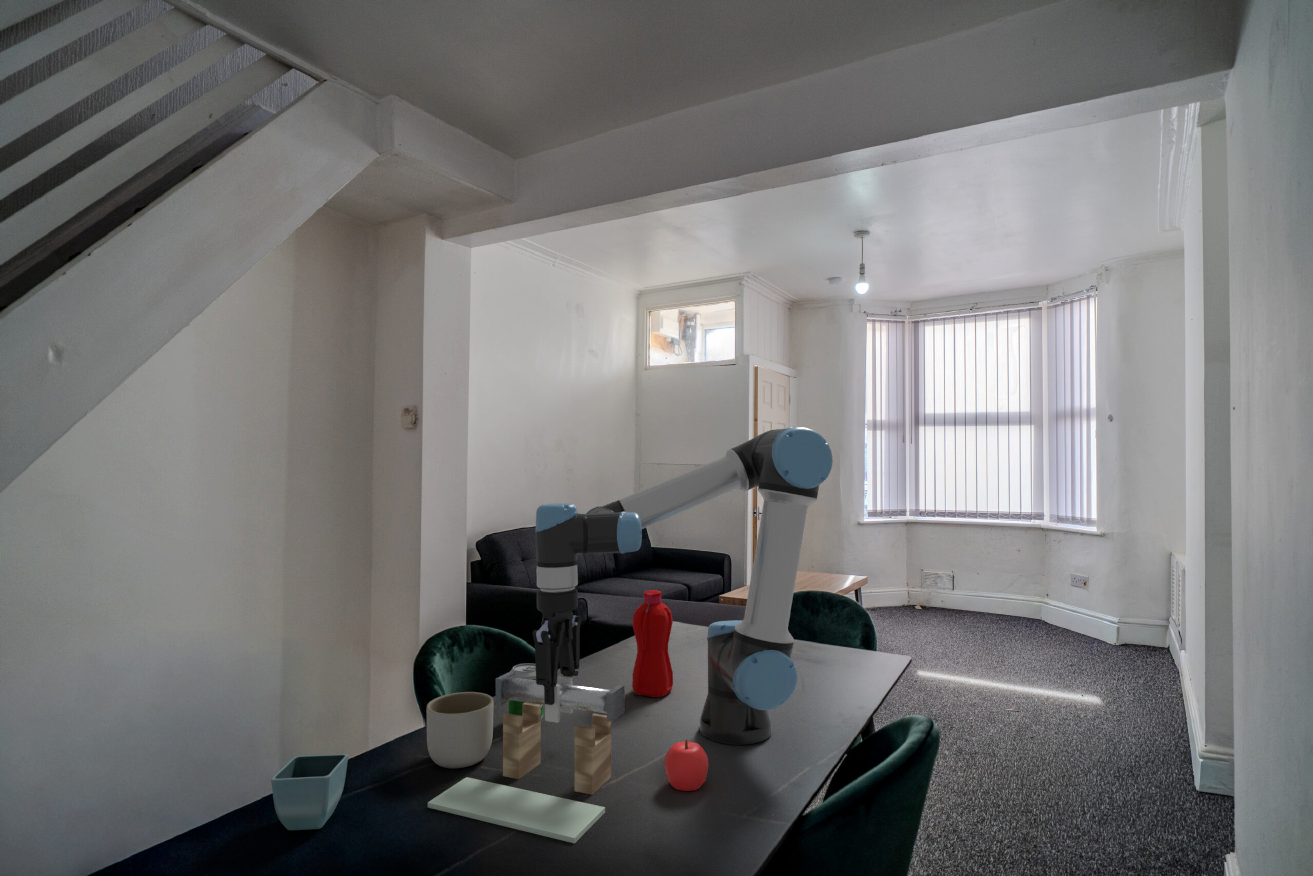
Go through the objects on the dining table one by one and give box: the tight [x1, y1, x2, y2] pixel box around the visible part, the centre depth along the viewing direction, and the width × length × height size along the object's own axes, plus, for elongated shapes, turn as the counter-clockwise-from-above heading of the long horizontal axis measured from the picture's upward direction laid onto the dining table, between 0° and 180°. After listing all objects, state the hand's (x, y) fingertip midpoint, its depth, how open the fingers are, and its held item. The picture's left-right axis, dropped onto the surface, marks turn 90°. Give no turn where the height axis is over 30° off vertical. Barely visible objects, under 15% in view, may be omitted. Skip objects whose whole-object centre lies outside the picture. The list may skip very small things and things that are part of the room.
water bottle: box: [631, 589, 674, 698], centre depth 172 cm, size 9×11×25 cm
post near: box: [574, 712, 612, 796], centre depth 124 cm, size 4×7×11 cm, turn 157°
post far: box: [502, 702, 542, 780], centre depth 130 cm, size 4×7×11 cm, turn 157°
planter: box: [426, 691, 495, 769], centre depth 134 cm, size 12×12×11 cm
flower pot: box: [270, 753, 349, 831], centre depth 111 cm, size 9×9×9 cm
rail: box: [495, 670, 626, 723], centre depth 127 cm, size 24×5×5 cm, turn 67°
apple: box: [663, 739, 710, 792], centre depth 123 cm, size 8×8×8 cm
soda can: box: [508, 663, 544, 720], centre depth 153 cm, size 8×8×12 cm
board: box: [427, 776, 606, 844], centre depth 115 cm, size 28×10×1 cm, turn 67°
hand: (559, 716), depth 127 cm, fingers closed on rail, 4 cm apart
